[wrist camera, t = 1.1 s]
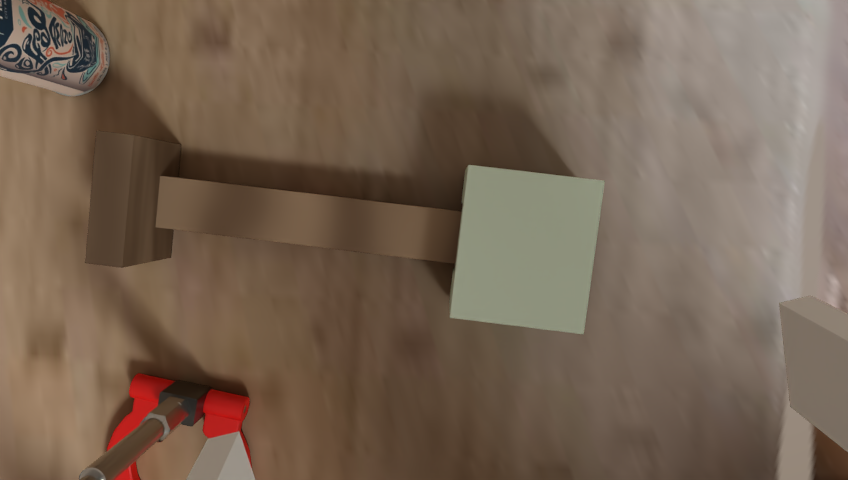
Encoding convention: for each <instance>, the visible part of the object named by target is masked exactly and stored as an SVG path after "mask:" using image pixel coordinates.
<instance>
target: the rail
mask: <svg viewBox="0 0 848 480" xmlns="http://www.w3.org/2000/svg"><path fill="white" fill-rule="evenodd" d="M180 153H181V145H179V144H175V143H170V142H165V141H160V140H155V139H150V138H146V137H141V136H136V135H129V134H121V133H112V132H104V131H96V141H95V152H94V164H93V176H92V188H91V200H90V212H89V224H88V236H87V248H86V260H85V263H89V264H97V265H105V266H113V267H121V268H123V267H128V266H132V265H137V264H142V263H147V262H151V261H156V260H161V259H166V258H171V250H172V239H173V229H174V230H182V231H190V232H198V233H207V234H215V235H223V236H231V237H239V238H248V239H256V240H264V241H272V242H280V243H289V244H297V245H305V246H313V247H322V248H330V249H338V250H346V251H354V252H363V253H371V254H379V255H387V256H395V257H404V258H412V259H420V260H428V261H436V262H445V263H453V264H455V263H456V254H457V246H458V238H459V230H460V222H461V214H462V211H456V210H447V209H439V208H431V207H422V206H414V205H406V204H397V203H389V202H381V201H372V200H364V199H355V198H347V197H339V196H330V195H322V194H314V193H305V192H297V191H289V190H280V189H272V188H263V187H255V186H247V185H238V184H230V183H222V182H213V181H205V180H197V179H188V178H180V177H178V175H179V164H180Z"/></svg>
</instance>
